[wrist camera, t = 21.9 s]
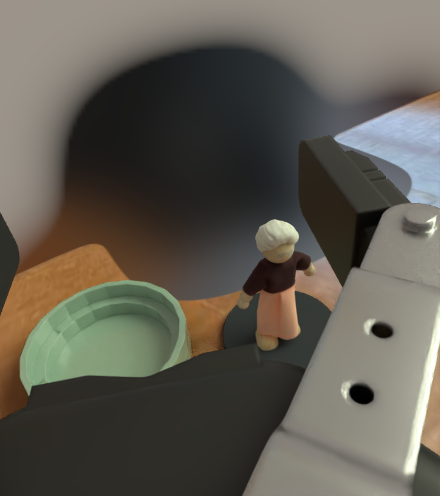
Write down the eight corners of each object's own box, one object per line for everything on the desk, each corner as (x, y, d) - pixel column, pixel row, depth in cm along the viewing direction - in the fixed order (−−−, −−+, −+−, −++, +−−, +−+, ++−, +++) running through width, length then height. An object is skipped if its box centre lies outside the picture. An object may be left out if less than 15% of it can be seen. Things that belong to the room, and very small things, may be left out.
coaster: (227, 391, 36) (226, 387, 36) (220, 299, 45) (220, 295, 44) (355, 376, 36) (355, 372, 35) (323, 287, 44) (323, 283, 44)
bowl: (13, 446, 34) (-7, 424, 32) (58, 312, 46) (46, 289, 44) (191, 427, 34) (183, 402, 32) (191, 297, 46) (186, 272, 43)
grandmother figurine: (265, 367, 37) (257, 257, 29) (237, 342, 39) (222, 234, 31) (324, 320, 40) (330, 210, 32) (294, 300, 43) (294, 193, 35)
